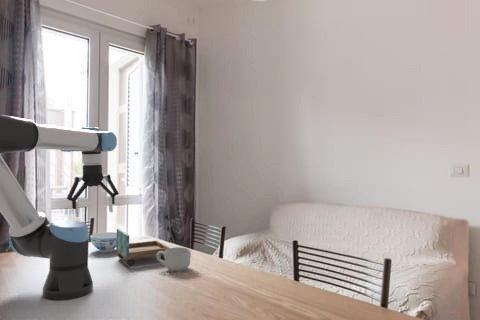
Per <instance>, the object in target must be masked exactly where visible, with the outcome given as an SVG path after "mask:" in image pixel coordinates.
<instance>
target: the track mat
mask: <svg viewBox="0 0 480 320" xmlns="http://www.w3.org/2000/svg"><path fill="white" fill-rule="evenodd" d="M159 258H160V259H161V255H160V256H159ZM118 259H119V260H121V261H122V262H123V263H124V265H126V266H127V267H128V268H129V269H130V270H132V269H138V268H144V267H152V266H158V265H159V266H160V265H163V263H161V262H160V261H158V260H157V257H156V256H153V257H145V258H138V259H133V260H134V264H133V265H132V266H128V265H127V264H126V259H125V258H119V257H118Z"/></svg>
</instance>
